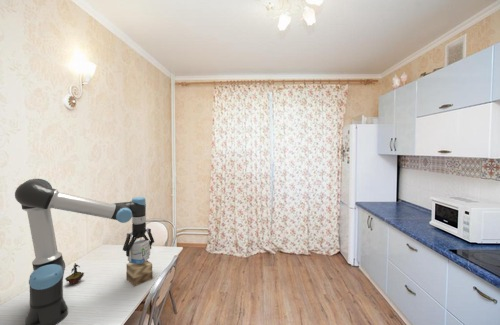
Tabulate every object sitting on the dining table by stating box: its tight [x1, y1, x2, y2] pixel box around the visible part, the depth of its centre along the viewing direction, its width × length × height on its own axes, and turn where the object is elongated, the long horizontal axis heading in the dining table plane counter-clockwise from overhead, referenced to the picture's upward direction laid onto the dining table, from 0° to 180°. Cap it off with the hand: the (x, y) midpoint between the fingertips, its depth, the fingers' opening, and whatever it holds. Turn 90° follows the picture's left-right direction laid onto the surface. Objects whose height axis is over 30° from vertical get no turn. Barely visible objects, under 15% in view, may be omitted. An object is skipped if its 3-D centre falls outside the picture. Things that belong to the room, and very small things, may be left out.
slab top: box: [126, 259, 153, 278], centre depth 144 cm, size 11×11×5 cm
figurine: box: [65, 263, 85, 285], centre depth 139 cm, size 10×8×12 cm
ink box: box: [128, 238, 150, 264], centre depth 144 cm, size 9×8×12 cm
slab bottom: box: [125, 270, 154, 287], centre depth 145 cm, size 11×11×5 cm
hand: (139, 257), depth 144 cm, fingers closed on ink box, 11 cm apart
